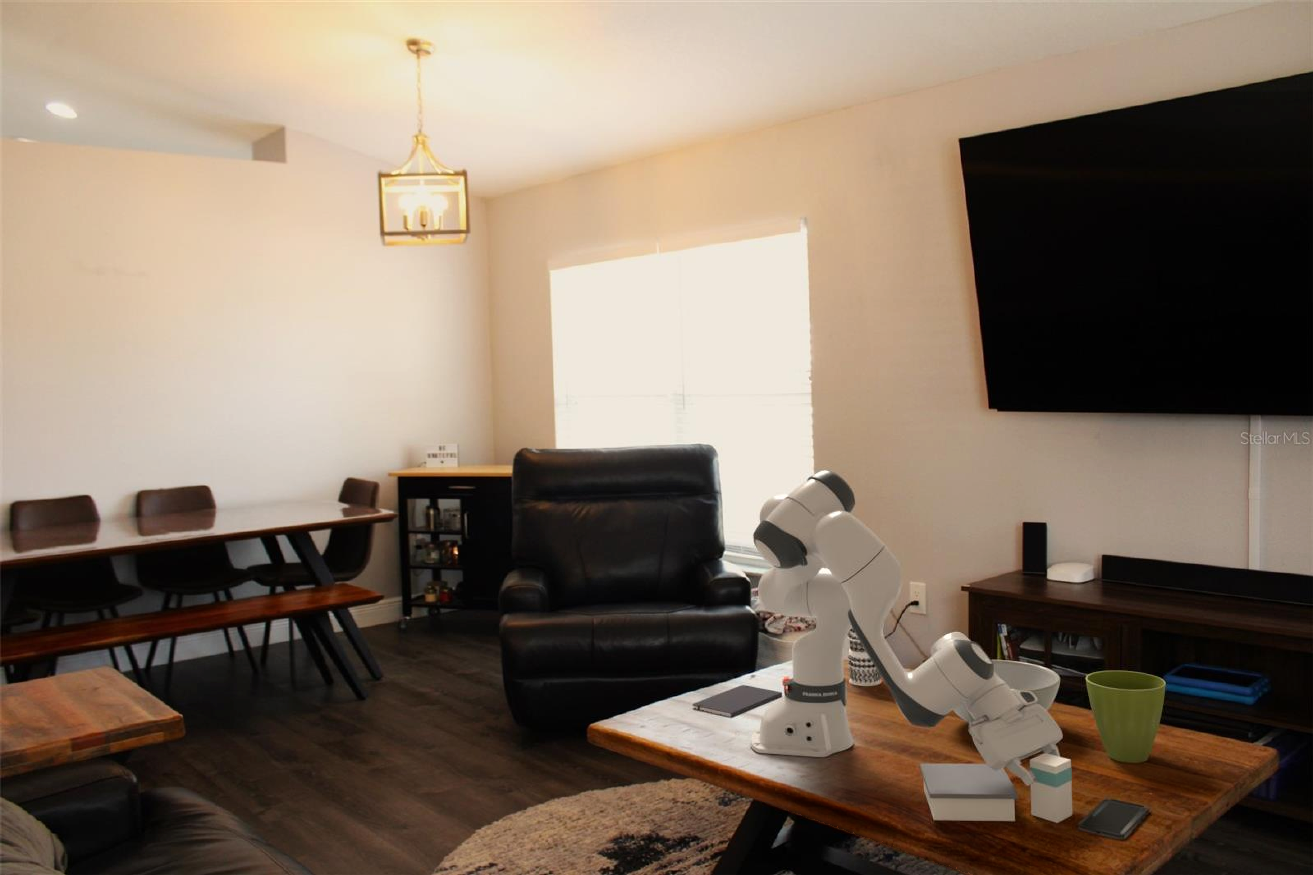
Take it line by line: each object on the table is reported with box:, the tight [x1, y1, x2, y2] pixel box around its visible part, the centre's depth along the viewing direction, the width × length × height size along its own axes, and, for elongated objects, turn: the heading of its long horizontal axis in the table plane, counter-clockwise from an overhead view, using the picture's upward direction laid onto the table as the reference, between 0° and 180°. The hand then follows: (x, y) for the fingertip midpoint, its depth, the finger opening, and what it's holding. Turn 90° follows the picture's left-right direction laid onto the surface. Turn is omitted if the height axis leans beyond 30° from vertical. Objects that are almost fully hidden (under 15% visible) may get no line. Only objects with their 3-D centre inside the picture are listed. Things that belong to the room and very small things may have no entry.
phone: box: [1078, 798, 1150, 840], centre depth 181 cm, size 8×1×15 cm
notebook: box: [692, 684, 783, 718], centre depth 261 cm, size 13×2×21 cm
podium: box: [919, 763, 1019, 822], centre depth 190 cm, size 15×15×5 cm
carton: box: [1029, 752, 1073, 824], centre depth 184 cm, size 5×5×10 cm
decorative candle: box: [847, 628, 883, 687], centre depth 274 cm, size 9×9×25 cm
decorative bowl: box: [952, 659, 1061, 724], centre depth 233 cm, size 27×27×12 cm
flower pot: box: [1085, 670, 1167, 764], centre depth 211 cm, size 15×15×16 cm
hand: (1047, 776), depth 184 cm, fingers open, 8 cm apart
